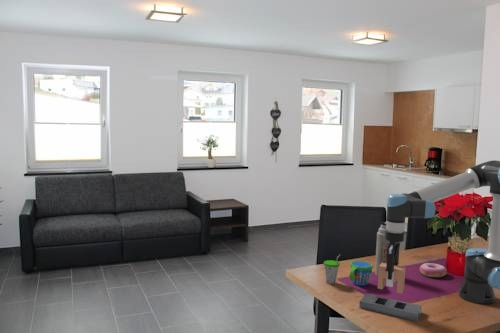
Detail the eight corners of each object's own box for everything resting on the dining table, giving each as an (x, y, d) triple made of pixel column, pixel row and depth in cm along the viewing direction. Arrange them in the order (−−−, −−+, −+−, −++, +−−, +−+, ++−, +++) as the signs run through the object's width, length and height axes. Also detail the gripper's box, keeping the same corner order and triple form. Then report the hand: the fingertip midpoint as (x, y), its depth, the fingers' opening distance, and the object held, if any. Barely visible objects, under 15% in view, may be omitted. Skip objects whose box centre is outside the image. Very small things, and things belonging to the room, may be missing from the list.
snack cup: (363, 277, 232) (364, 258, 231) (379, 284, 223) (380, 264, 222) (341, 283, 223) (342, 263, 222) (357, 290, 215) (358, 269, 214)
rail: (421, 312, 191) (422, 305, 191) (417, 321, 183) (417, 314, 182) (365, 299, 203) (366, 293, 203) (359, 307, 195) (359, 301, 194)
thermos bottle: (391, 277, 233) (394, 224, 230) (375, 276, 235) (378, 223, 231) (390, 272, 240) (393, 221, 237) (374, 271, 242) (377, 220, 239)
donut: (444, 272, 244) (445, 263, 243) (448, 280, 231) (448, 271, 230) (418, 269, 248) (419, 260, 247) (420, 277, 235) (420, 268, 234)
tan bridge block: (404, 289, 192) (405, 267, 191) (401, 293, 187) (403, 270, 186) (380, 284, 197) (381, 262, 196) (377, 288, 192) (379, 265, 191)
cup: (319, 282, 224) (320, 253, 222) (328, 278, 229) (330, 250, 228) (332, 286, 218) (333, 256, 217) (341, 282, 224) (343, 253, 222)
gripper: (390, 225, 199) (387, 276, 201) (380, 234, 183) (376, 288, 186) (408, 228, 195) (404, 279, 198) (399, 237, 180) (395, 292, 182)
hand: (391, 284), depth 192 cm, fingers closed on tan bridge block, 5 cm apart
